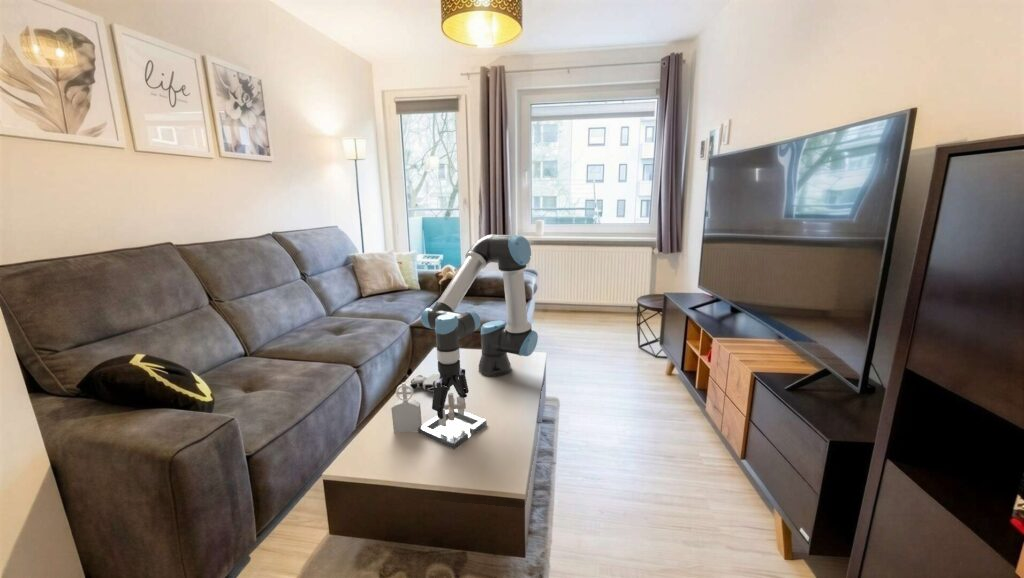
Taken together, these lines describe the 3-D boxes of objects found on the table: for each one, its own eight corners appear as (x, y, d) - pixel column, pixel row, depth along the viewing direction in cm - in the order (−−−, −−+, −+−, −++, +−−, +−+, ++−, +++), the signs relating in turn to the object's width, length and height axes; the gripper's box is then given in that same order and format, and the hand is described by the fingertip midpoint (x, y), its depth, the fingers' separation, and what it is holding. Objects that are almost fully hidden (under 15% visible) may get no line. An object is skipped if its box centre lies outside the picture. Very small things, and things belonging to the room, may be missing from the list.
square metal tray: (451, 411, 156) (451, 406, 155) (486, 424, 146) (486, 419, 146) (418, 432, 142) (417, 427, 142) (454, 449, 133) (453, 444, 132)
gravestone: (395, 427, 146) (391, 381, 141) (421, 426, 146) (418, 380, 142) (393, 432, 143) (389, 385, 139) (420, 431, 143) (416, 384, 139)
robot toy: (405, 394, 171) (438, 395, 168) (403, 384, 170) (437, 385, 167) (417, 381, 183) (449, 381, 180) (416, 372, 182) (447, 372, 179)
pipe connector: (439, 413, 148) (437, 388, 145) (466, 411, 149) (465, 386, 146) (436, 428, 138) (434, 402, 136) (465, 426, 139) (464, 400, 137)
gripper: (461, 347, 149) (464, 403, 154) (417, 368, 132) (422, 430, 137) (477, 351, 144) (479, 409, 150) (433, 374, 127) (438, 437, 133)
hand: (452, 419), depth 143 cm, fingers closed on pipe connector, 9 cm apart
